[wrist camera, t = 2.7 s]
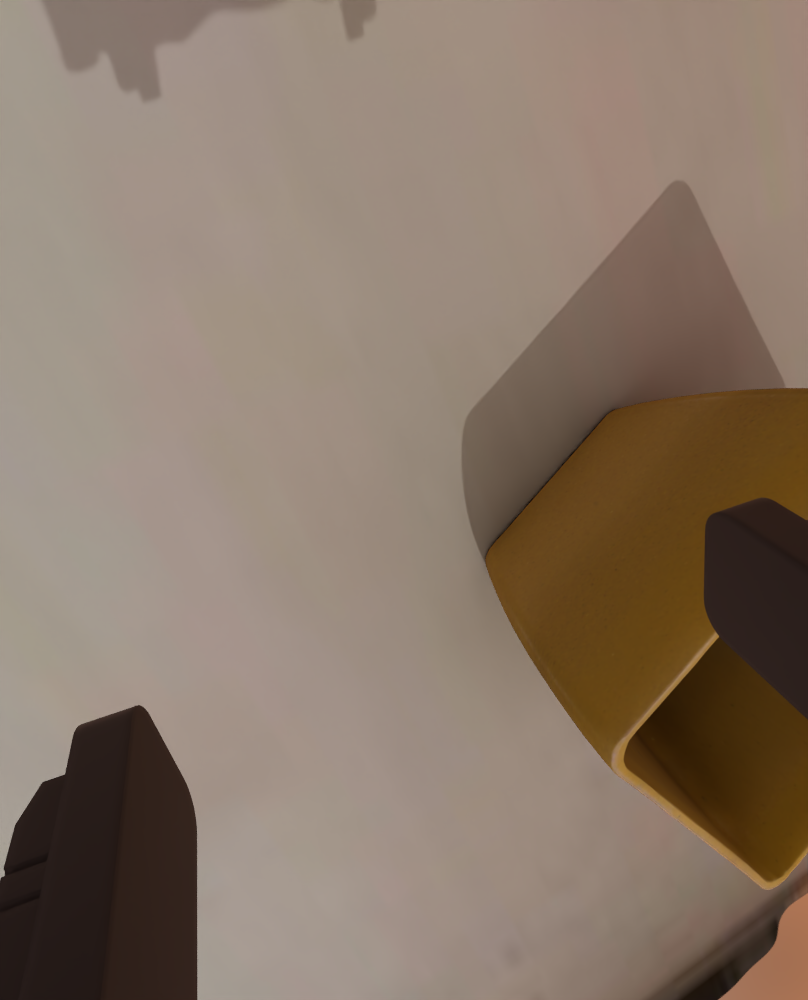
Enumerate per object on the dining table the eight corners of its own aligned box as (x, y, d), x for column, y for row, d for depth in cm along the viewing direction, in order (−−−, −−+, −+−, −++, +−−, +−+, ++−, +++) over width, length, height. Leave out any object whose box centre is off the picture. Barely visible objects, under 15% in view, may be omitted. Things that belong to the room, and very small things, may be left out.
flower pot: (406, 571, 39) (606, 768, 25) (624, 323, 40) (936, 381, 26) (568, 705, 50) (773, 897, 36) (738, 507, 50) (1005, 619, 36)
